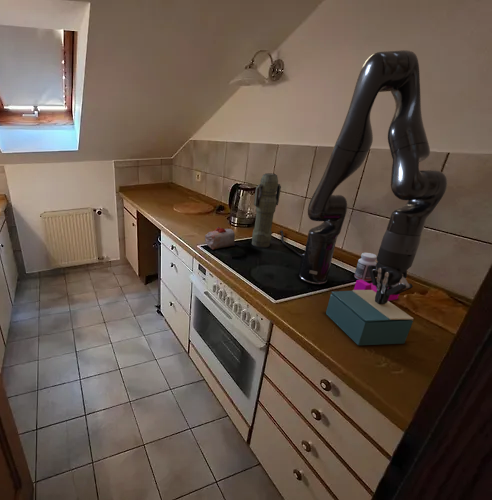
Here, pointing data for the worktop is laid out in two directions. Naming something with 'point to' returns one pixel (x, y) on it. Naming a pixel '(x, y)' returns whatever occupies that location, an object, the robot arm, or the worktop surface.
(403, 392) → the worktop surface
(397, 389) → the worktop surface
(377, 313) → the box
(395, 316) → the lid
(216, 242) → the food item
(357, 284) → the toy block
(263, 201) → the thermos
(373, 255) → the pill bottle
